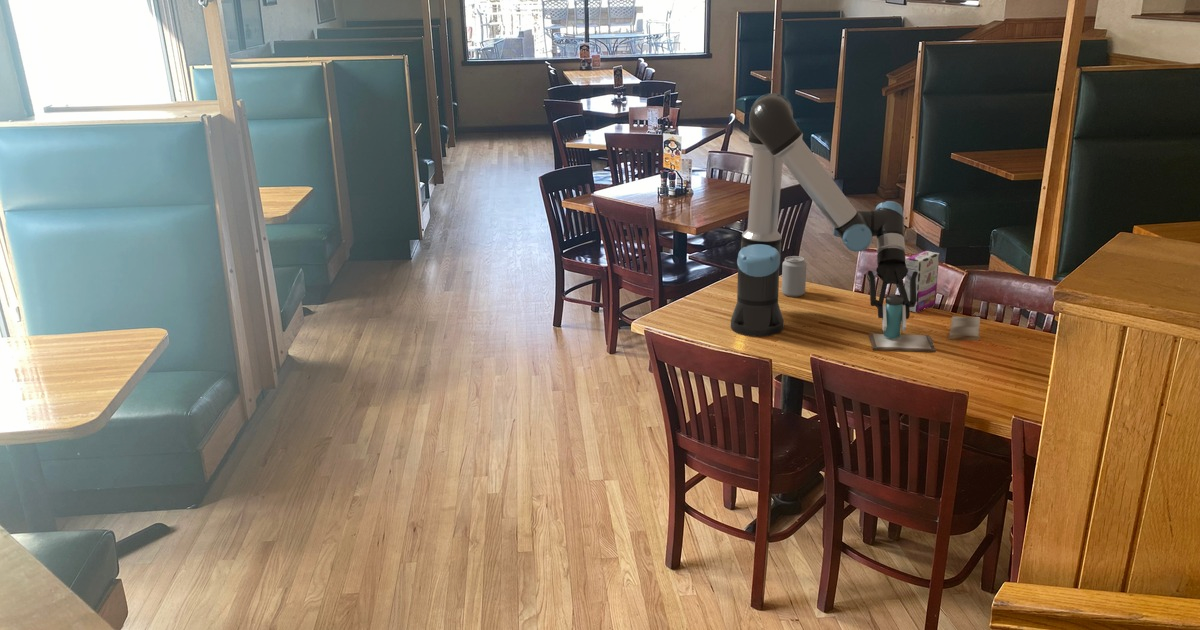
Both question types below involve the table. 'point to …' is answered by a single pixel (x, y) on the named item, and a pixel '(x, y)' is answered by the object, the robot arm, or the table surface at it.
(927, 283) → the candy bar box
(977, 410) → the table surface
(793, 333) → the table surface
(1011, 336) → the table surface
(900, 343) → the grey flat rectangular slab
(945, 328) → the table surface
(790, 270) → the can
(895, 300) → the teal lidded bottle
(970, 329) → the word sign
